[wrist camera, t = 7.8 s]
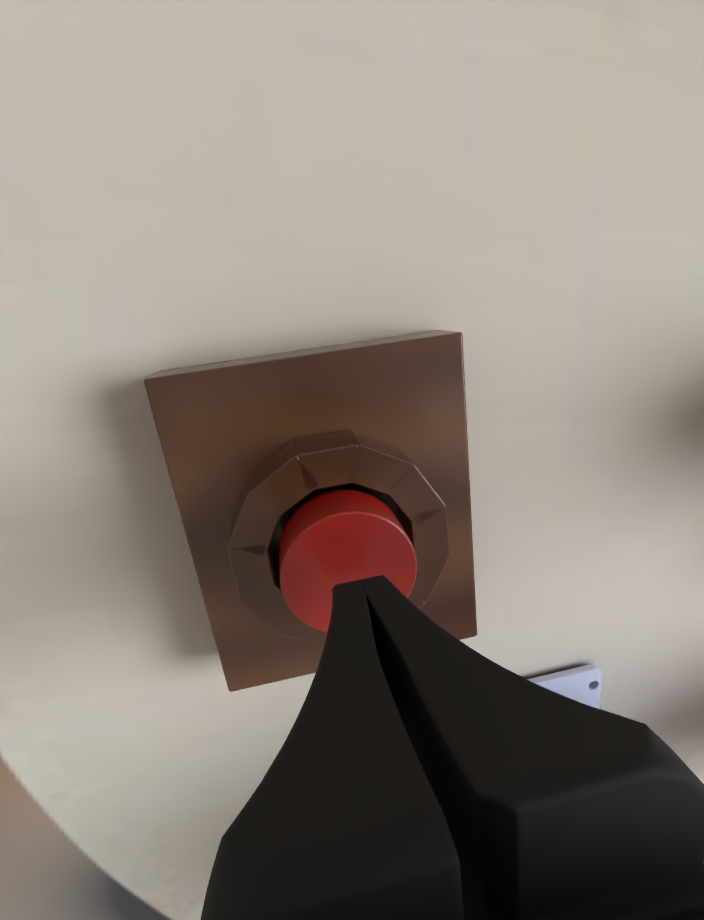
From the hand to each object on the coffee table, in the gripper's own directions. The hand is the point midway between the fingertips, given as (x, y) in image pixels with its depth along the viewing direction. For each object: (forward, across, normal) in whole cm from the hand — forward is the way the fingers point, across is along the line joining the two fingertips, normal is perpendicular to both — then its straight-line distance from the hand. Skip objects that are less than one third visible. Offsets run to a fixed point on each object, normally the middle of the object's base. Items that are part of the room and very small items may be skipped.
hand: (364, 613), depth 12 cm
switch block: (+7, 0, 0) cm, 7 cm away
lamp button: (+3, 0, 0) cm, 3 cm away
